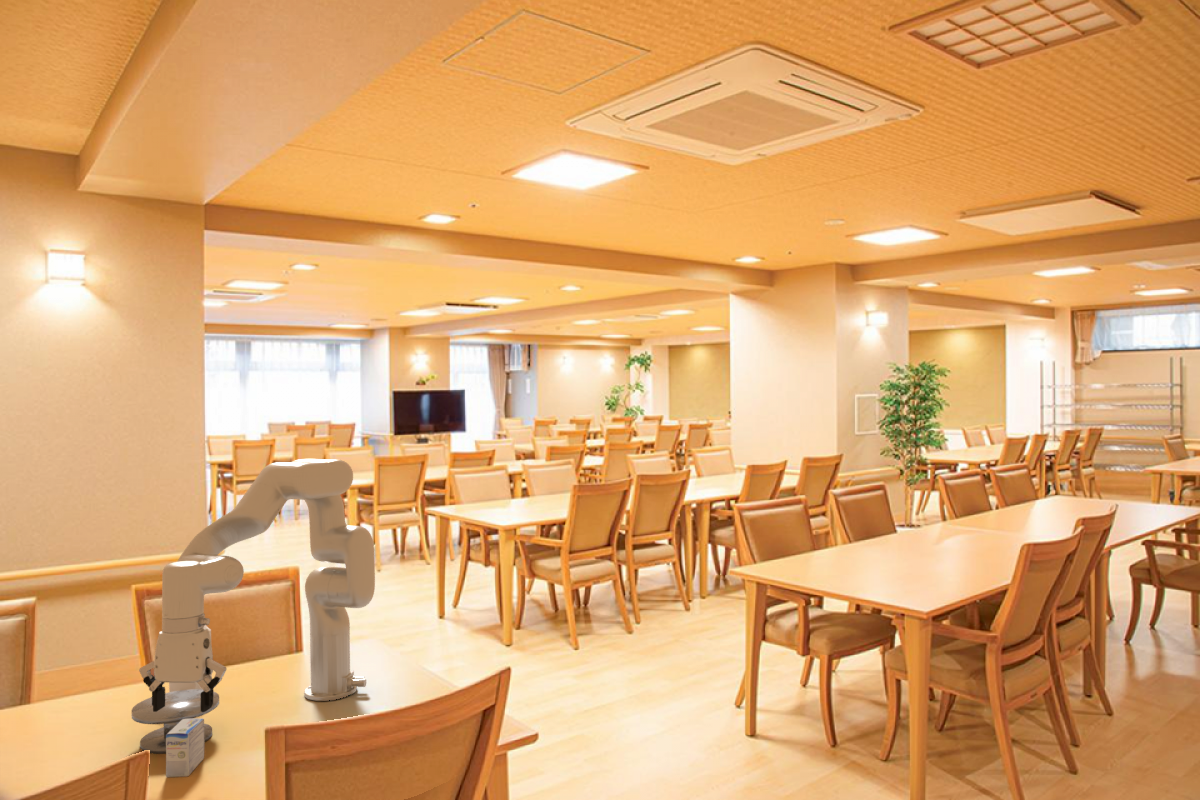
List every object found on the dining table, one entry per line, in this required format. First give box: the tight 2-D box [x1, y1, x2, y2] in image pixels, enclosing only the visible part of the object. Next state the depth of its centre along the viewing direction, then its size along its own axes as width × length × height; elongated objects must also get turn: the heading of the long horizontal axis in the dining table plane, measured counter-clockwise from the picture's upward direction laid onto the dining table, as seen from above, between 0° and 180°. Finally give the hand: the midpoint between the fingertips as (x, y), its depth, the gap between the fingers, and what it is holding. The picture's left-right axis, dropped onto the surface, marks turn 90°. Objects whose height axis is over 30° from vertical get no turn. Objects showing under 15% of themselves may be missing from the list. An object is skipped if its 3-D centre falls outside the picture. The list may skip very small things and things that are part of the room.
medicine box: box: [165, 717, 205, 778], centre depth 164 cm, size 8×4×9 cm, turn 5°
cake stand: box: [131, 689, 220, 755], centre depth 178 cm, size 17×17×8 cm
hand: (182, 709), depth 164 cm, fingers open, 9 cm apart
